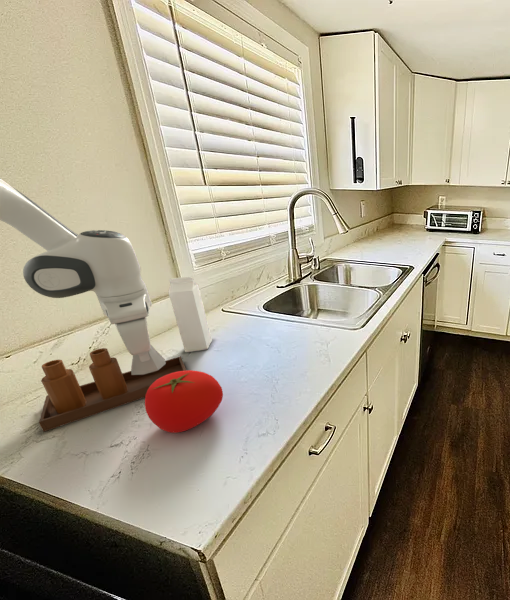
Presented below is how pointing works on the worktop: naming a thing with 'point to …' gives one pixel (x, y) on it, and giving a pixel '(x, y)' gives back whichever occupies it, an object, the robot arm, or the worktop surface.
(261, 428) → the worktop surface
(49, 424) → the tray
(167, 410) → the tomato
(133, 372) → the flask
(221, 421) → the worktop surface
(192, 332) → the milk
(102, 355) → the spice bottle
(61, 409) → the spice bottle
